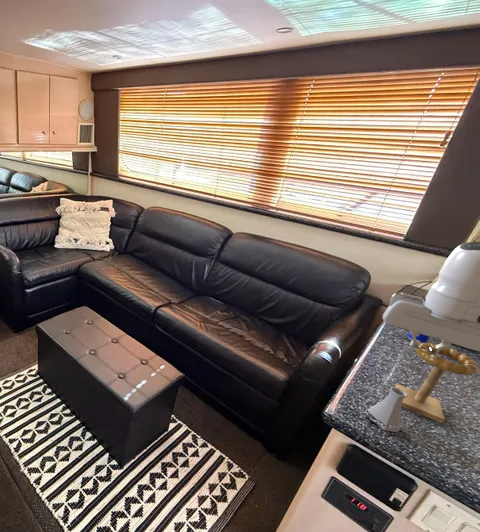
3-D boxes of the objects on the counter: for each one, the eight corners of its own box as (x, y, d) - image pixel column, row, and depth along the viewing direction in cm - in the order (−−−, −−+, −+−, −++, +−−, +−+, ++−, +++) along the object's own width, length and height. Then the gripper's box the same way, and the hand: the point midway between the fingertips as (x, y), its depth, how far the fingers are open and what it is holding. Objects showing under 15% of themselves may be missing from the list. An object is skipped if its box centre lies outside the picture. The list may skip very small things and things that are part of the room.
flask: (378, 408, 86) (395, 380, 83) (408, 431, 80) (427, 401, 76) (356, 411, 85) (372, 382, 81) (384, 434, 79) (403, 404, 75)
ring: (469, 361, 84) (474, 354, 83) (480, 383, 76) (486, 375, 75) (411, 343, 90) (415, 336, 89) (416, 362, 82) (420, 354, 81)
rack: (436, 403, 89) (465, 359, 83) (442, 423, 83) (474, 377, 77) (394, 387, 95) (418, 344, 89) (396, 405, 88) (423, 360, 82)
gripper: (395, 294, 83) (373, 338, 89) (516, 325, 71) (482, 373, 77) (393, 286, 88) (372, 328, 93) (507, 315, 76) (475, 361, 81)
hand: (423, 349), depth 85 cm, fingers closed on ring, 2 cm apart
